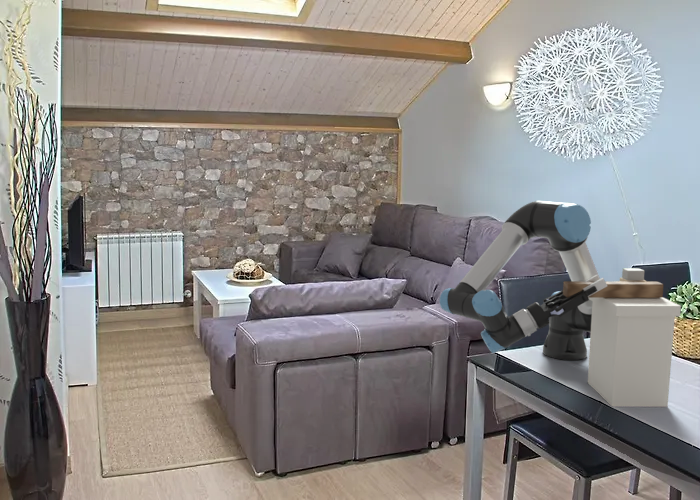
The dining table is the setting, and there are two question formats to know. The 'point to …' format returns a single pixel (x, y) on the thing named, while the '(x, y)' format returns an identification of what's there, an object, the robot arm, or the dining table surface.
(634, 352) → the cream stand
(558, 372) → the dining table surface
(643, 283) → the walnut block
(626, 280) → the birch offcut
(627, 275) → the grey offcut
